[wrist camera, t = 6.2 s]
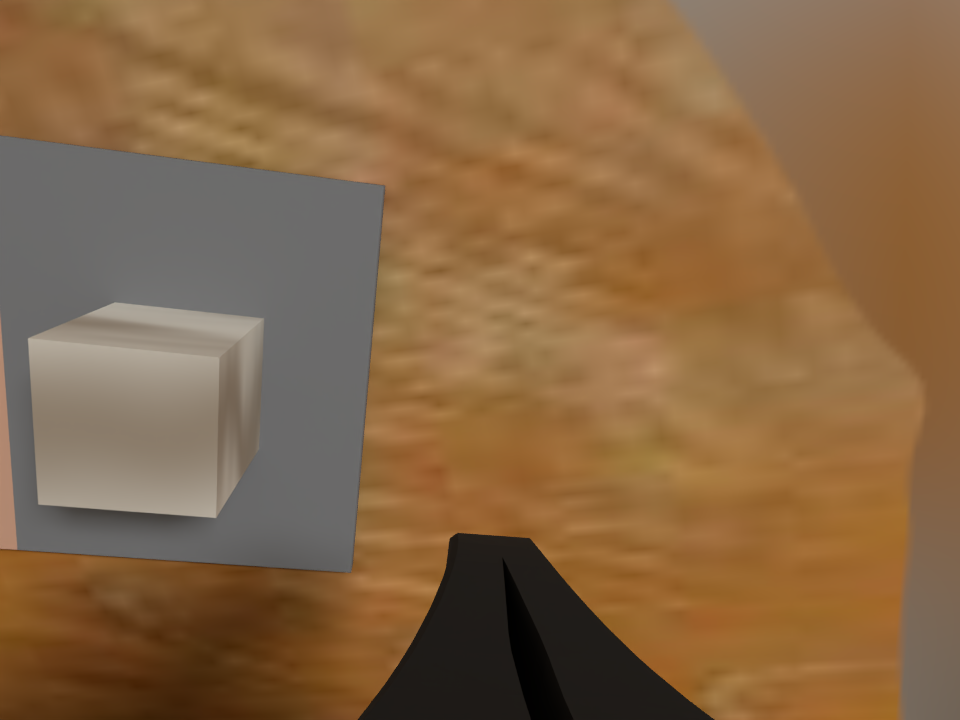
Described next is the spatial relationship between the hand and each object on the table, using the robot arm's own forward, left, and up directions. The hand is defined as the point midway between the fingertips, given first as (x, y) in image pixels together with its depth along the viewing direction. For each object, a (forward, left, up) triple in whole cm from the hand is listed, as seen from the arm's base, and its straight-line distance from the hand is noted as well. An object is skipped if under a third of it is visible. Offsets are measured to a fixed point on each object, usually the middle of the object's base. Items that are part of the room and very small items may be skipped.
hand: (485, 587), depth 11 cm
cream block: (0, +8, -9) cm, 12 cm away
